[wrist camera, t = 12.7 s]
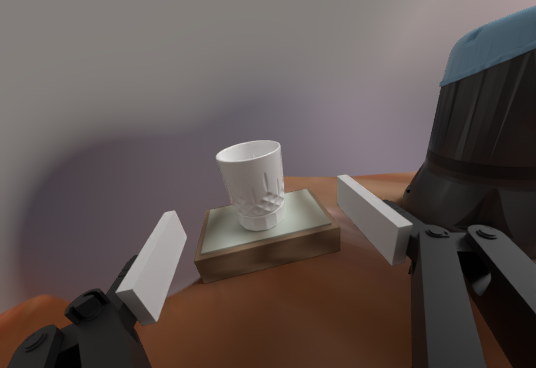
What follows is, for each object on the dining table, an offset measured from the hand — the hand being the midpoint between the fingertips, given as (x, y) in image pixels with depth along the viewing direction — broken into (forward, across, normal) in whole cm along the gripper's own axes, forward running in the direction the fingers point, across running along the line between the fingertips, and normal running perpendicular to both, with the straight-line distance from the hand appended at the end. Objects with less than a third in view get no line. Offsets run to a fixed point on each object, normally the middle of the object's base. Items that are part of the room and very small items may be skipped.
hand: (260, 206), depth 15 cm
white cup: (+10, 0, -8) cm, 13 cm away
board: (+10, 0, -12) cm, 16 cm away
